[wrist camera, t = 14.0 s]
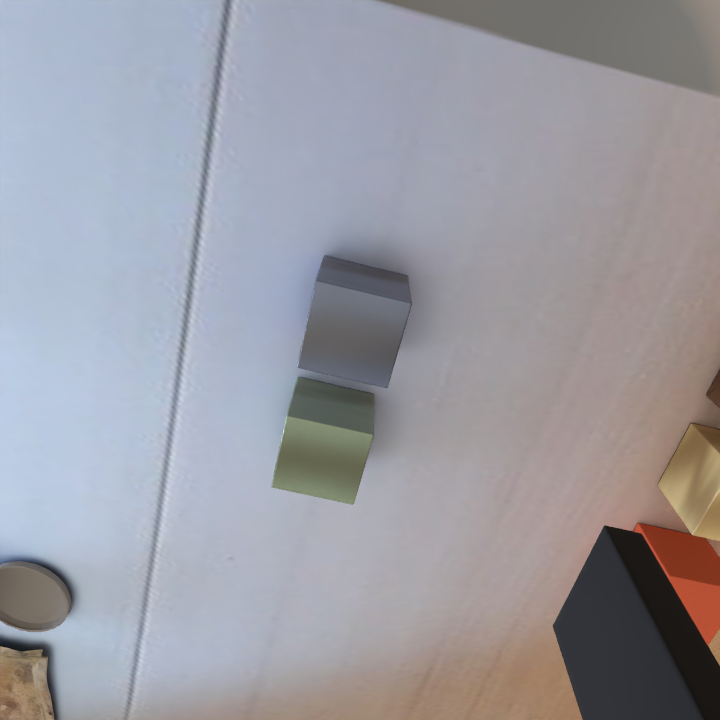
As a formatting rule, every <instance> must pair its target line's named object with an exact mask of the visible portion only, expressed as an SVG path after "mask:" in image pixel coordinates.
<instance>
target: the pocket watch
mask: <svg viewBox="0 0 720 720" xmlns="http://www.w3.org/2000/svg"><path fill="white" fill-rule="evenodd" d="M70 608H71V597H70V593H69V591H68V589H67V587H66V585H65V584H64V583H63V582H62V580H61V579H60V578H59V577H58V576H56V575H55V574H54V573H53V572H51V571H50V570H48V569H46V568H44V567H42V566H40V565H37V564H33V563H29V562H24V561H16V562H5V563H2V564H0V621H1V622H3V623H4V624H6V625H8V626H11V627H13V628H16V629H19V630H23V631H28V632H42V631H47V630H51V629H54V628H55V627H57V626H59V625H60V624H61V623H63V621H64V620H65V619H66V617H67V615H68V614H69V612H70Z"/></svg>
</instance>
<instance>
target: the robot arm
mask: <svg viewBox="0 0 720 720" xmlns="http://www.w3.org/2000/svg"><path fill="white" fill-rule="evenodd" d="M553 628H554V631H555V634H556V637H557V641H558V644H559V647H560V650H561V653H562V656H563V659H564V662H565V666H566V669H567V672H568V675H569V678H570V681H571V684H572V687H573V690H574V694H575V697H576V700H577V703H578V706H579V709H580V712H581V715H582V719H583V720H720V666H719V664H718V662H717V661H716V659H715V657H714V656H713V654H712V652H711V650H710V649H709V647H708V645H707V644H706V642H705V640H704V638H703V637H702V635H701V633H700V632H699V630H698V628H697V627H696V625H695V623H694V621H693V620H692V618H691V616H690V615H689V613H688V611H687V610H686V608H685V606H684V604H683V603H682V601H681V599H680V598H679V596H678V594H677V593H676V591H675V589H674V587H673V586H672V584H671V582H670V581H669V579H668V577H667V576H666V574H665V572H664V570H663V569H662V567H661V565H660V564H659V562H658V560H657V559H656V557H655V555H654V553H653V552H652V550H651V548H650V547H649V545H648V543H647V541H646V540H645V538H644V536H643V535H642V533H637V532H633V531H628V530H623V529H619V528H614V527H609V526H605V525H604V527H603V529H602V531H601V533H600V535H599V537H598V539H597V541H596V543H595V545H594V547H593V549H592V551H591V553H590V555H589V557H588V558H587V560H586V562H585V564H584V566H583V568H582V570H581V572H580V574H579V576H578V578H577V580H576V582H575V584H574V586H573V588H572V590H571V592H570V594H569V596H568V597H567V599H566V601H565V603H564V605H563V607H562V609H561V611H560V613H559V615H558V617H557V619H556V621H555V623H554V625H553Z"/></svg>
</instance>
